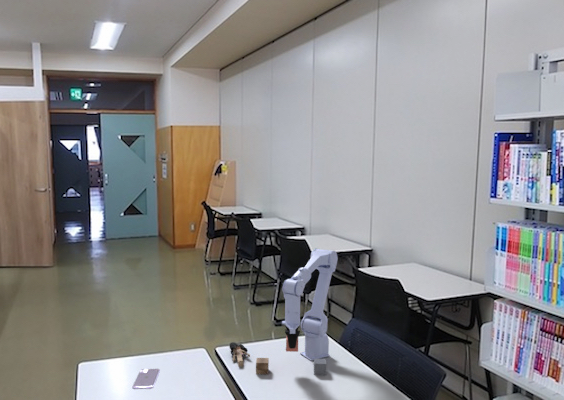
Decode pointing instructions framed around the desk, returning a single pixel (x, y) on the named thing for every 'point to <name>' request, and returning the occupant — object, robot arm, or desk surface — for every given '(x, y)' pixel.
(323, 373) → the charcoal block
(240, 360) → the toy figure
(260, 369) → the walnut block
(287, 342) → the red block
